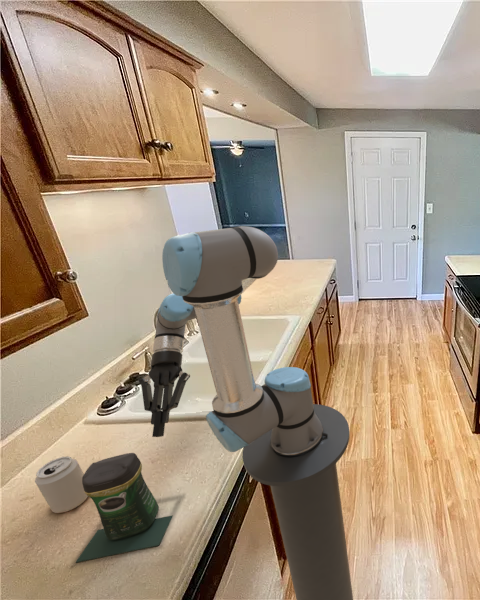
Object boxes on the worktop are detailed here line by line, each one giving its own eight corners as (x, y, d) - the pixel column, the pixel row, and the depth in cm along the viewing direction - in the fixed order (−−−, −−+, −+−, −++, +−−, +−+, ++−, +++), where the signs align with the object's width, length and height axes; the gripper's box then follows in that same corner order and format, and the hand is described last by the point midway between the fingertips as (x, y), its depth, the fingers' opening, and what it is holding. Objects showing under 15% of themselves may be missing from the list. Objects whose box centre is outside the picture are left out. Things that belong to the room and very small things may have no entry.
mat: (181, 499, 84) (180, 496, 84) (159, 547, 73) (158, 544, 73) (110, 512, 81) (109, 509, 81) (77, 564, 70) (75, 562, 70)
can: (46, 508, 82) (25, 473, 77) (82, 484, 88) (65, 450, 84) (62, 520, 79) (41, 483, 75) (98, 493, 85) (81, 458, 81)
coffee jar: (163, 502, 83) (141, 444, 76) (152, 531, 76) (127, 470, 69) (117, 515, 80) (90, 455, 74) (101, 547, 73) (70, 484, 66)
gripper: (196, 353, 104) (190, 433, 95) (150, 359, 101) (139, 441, 92) (185, 347, 97) (177, 431, 88) (136, 352, 95) (122, 440, 85)
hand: (158, 436), depth 90 cm, fingers closed
